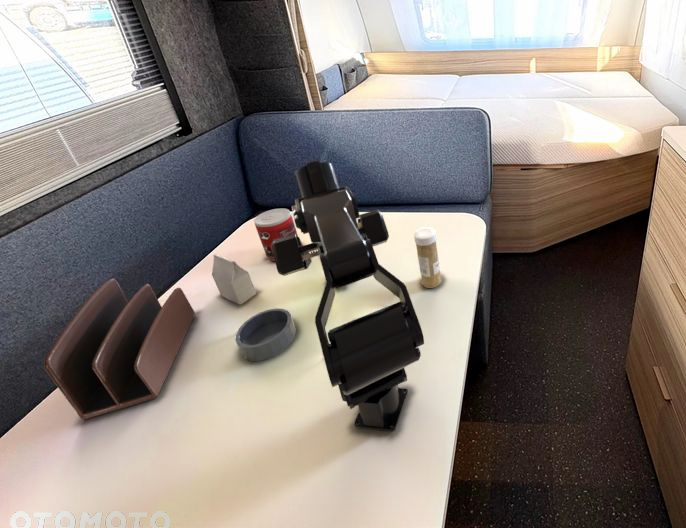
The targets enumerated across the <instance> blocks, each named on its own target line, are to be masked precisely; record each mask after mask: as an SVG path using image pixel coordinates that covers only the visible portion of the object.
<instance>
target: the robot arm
mask: <svg viewBox="0 0 686 528" xmlns="http://www.w3.org/2000/svg"><path fill="white" fill-rule="evenodd" d="M294 175H295V178H296V182H297V185H298V188H299V193H300V196H301V197H298V198H295V199H294V205H291V210H292V217H293V222H294V225H295V228H296V229H299V230H300V233H301V234H303V235H305V234H308V235H309V239H310V242H311V243H307V244H305V245H303V242H302V240H301V238H300V236H298V237H296V234H293V235H289V236H286V237H282V238H279V239H275V240H274V241H273V242H272V244H271V247H272V251H273V255H274V259H275V261H274V264H275V266H276V270H277V273H278V274H279V275H281V276H283V277H286V276H289V275H292V274H295V273H299V272H302V271H304V270H308V269H309V267H310V265H311V264H312V261H313V260H312V259H313V258H316V257H319V260H321V261H320V264H321V268H322V271H323V275H324V278H325V286H324V289H323V292H322V295H321V298H320V301H319V305H318V307H317V311H316V314H315V317H314V325H315V329H316V331H317V337H318V339H319V344H320V349H321V352H322V356H323V360H324V365H325V368H326V371H327V376H328V379H329V381H330V385H331V388H334V387H336V386H338V390H339V394H340V396H341V400H342V402H344V403H345V402H346V405H347V407H349V410H353V409H354V408H355V407H358V410H359V411H358V414H357V416H356V418H355V420H354V423H353V425H354V427H355V428H356V429H364V430H374V431H385V432H395V430H397V427H398V424H399V421H400V418H401V415H402V412H403V410H404V407H405V403H406V401H407V397H408V394H409V390H408V388H406V387H404V388H403V387H399V385H401V384H402V383H406V382H407V381H408V376H407V372H406V369H405V368H407V367H408V366H410V365H412V364H414V363H417V362H419V361H420V359H421V356H422V355H421V350H420V348H419V347H421V346H423V345H425V338H424V337H425V336H424V332H423V330H422V327H421V323H420V321H419V318H418V315H417V313H416V310H415V306H414V304H413V302H412V299H411V296H410V293H409V291H408V288H407V285H406V284H405V283H404V282H403V281H402V280H400V279H399V278H398V277H396V276H395V275H394V274H393V273H391V272H390V271H389V270H388V269H386V267H383V266H382V265H381V264H380V263H379V261H378V258H377V255H376V252H375V249H374V247H377V246H379V245H382V244H385V243H387V242H388V240H389V239H390V238H389V237H390V234H389V230H388V228H387V224H386V222H385V218H384V215H383V213H382V211H380V210H379V209H375V210H372V211H369V212H365V213H361V214H360V212H359V211H360V210H359V206H358V204H357V200H356V198H355V196H354V194H353V192H352V191H351V189H350V187H349V186H348V185H346V186H345V185H344V186H342V187H340V185H339V182H338V179H337V175H336V172H335V169H334V165H333V163H330V162H326V161H320V160H319V159H316V160H313V161H308V162H306V165H304V166H301V167H300V168H298V170H296V171H295V172H294ZM317 249H318V250H317ZM370 277H373V278H374V280H375V281H376V282H378V283H379V284H381V286H383V287H384V288H385V289H387V290H388V291H389V292H391V293H392V294H393V295H394V296H396V298H398V299H399V301H397V302H395V303H392V304H389V305H388V306H387V305H386V306H384V307H383V308H380V309H377V310H375V311H373V312H370V313H368V314H365V315H363V316H360V317H358V318H356V319H352V320H350V321H348V322H345V323H344V324H340V325H338V326H335V327H332V328H331V329H328V332H327V330H326V327H327V323H328V320H329V317H330V313H331V310H332V307H333V304H334V301H335V297H336V290H337V289H340V287H341V288H344V287H346V286H348V285H351V284H354V283H357V282H359V281H362V280H365V279H367V278H370ZM343 286H344V287H343Z"/></svg>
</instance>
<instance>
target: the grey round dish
mask: <svg viewBox="0 0 686 528" xmlns="http://www.w3.org/2000/svg"><path fill="white" fill-rule="evenodd" d="M296 333H297V329H296V325H295V322H294V319H293V317H292V314H291V313H290V311H289V310H288V309H284V308H278V307H277V308H276V307H275V308H270V309H266V310H263V311H261V312H258V313H256V314H255V315H253V316H251V317H249V318H248V319H247V320H246V321H244V322H243V323H242V324H241V325H240V327H239V328H238V330H237V331H236V334H235V339H234V340H235V343H236V345H237V347H238V349H239V351H240V354H241V355H242V357H243V358H244V359H245V360H247V361H250V362H261V361H265V360H268V359H271V358H273V357H275V356H278V354H280V353H282V352H283V351H285V350H286V349H287V347H288V348H289V346H290V345H291V344H292V343H293V341H294V339H295V338H296Z"/></svg>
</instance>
